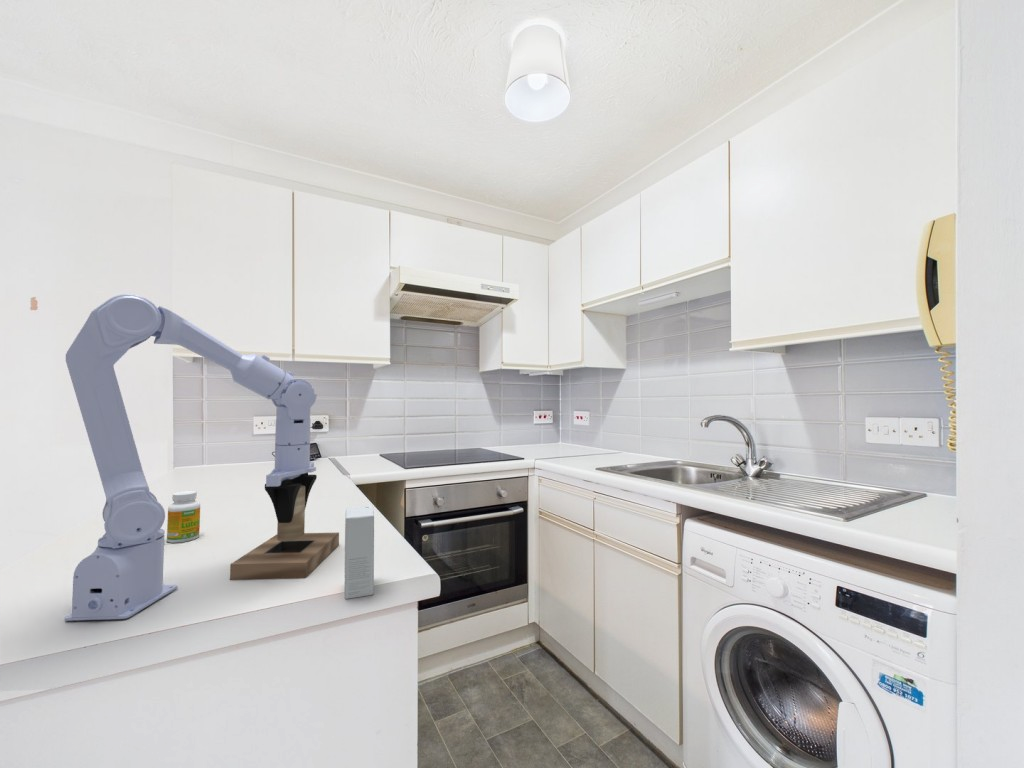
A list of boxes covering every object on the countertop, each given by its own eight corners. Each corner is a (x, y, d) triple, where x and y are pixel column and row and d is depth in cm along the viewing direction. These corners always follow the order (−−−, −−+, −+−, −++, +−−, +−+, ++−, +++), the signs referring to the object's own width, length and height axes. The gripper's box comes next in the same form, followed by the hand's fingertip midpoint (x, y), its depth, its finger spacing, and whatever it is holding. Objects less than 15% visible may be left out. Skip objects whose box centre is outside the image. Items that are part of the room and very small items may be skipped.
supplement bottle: (181, 544, 84) (182, 496, 85) (159, 542, 85) (161, 494, 86) (205, 535, 90) (207, 490, 90) (185, 534, 91) (186, 489, 91)
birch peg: (297, 541, 74) (298, 490, 74) (272, 541, 74) (273, 490, 74) (308, 533, 78) (309, 485, 79) (284, 533, 78) (285, 485, 78)
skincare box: (344, 583, 66) (345, 507, 67) (372, 579, 68) (373, 505, 68) (343, 600, 61) (344, 517, 61) (374, 595, 62) (375, 515, 63)
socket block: (305, 577, 68) (305, 562, 69) (229, 579, 68) (230, 564, 68) (338, 544, 84) (339, 532, 84) (277, 546, 83) (277, 533, 83)
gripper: (297, 448, 70) (295, 530, 69) (329, 440, 84) (328, 507, 84) (253, 448, 69) (251, 531, 69) (293, 440, 84) (292, 508, 83)
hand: (291, 518), depth 76 cm, fingers closed on birch peg, 4 cm apart
